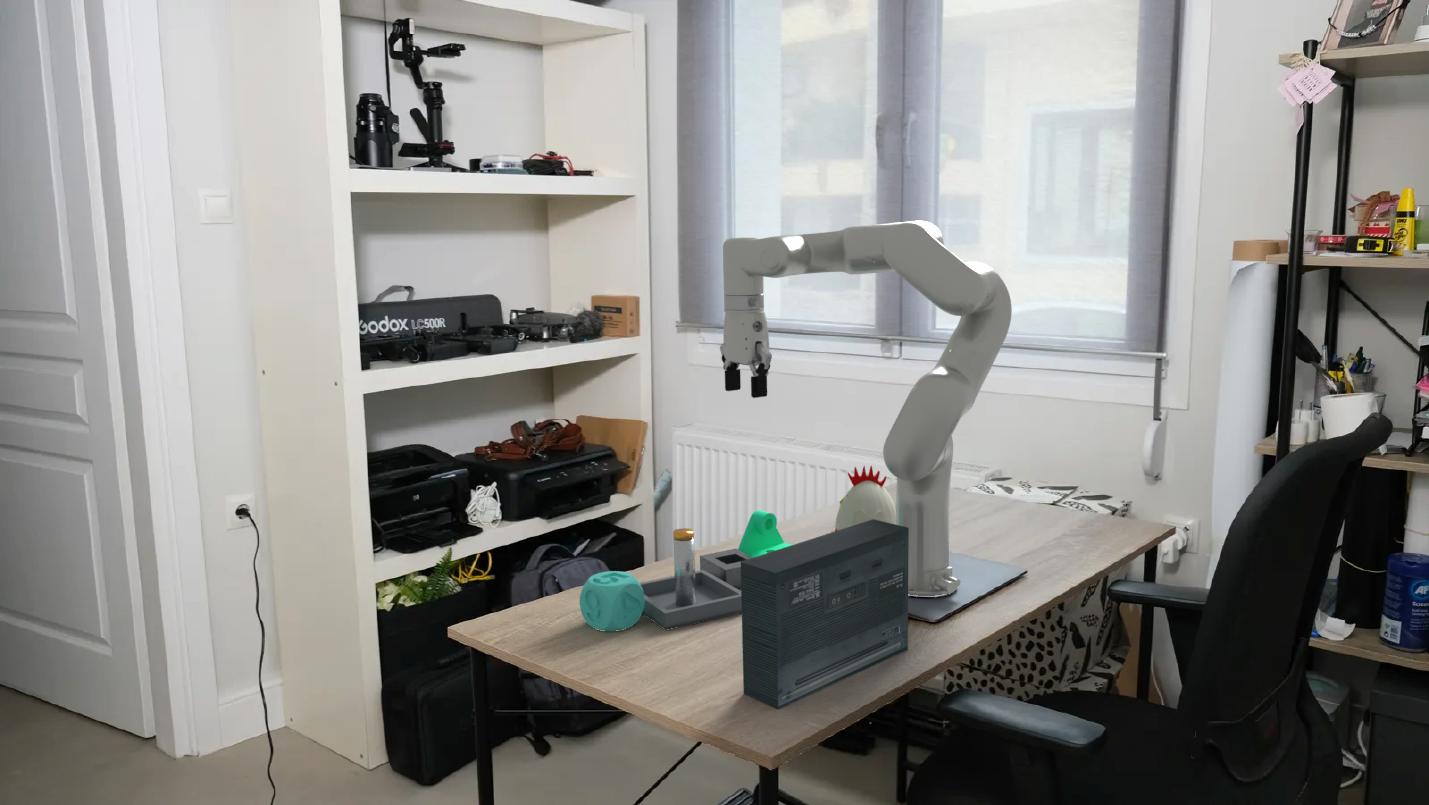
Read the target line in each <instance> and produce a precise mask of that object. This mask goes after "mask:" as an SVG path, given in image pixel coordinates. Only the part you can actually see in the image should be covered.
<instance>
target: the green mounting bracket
mask: <svg viewBox="0 0 1429 805" xmlns="http://www.w3.org/2000/svg"><path fill="white" fill-rule="evenodd" d="M777 523H778V521H777V517H776V515H775V514H774V513H771V512H768V511H765V510H760V509H757V510H755V511H753V513H752V514H751V516H750V518H749V520H748V522H747V525H746V528H745V530H744V533H743V536H742V537H741V541H740V543H739V546H738V548H737V549H738V550H740V551H742V552H744V553H746V554H748V555H750V556H752V557H757V556H760V555H763V554H766V553H769V552H773V551H776V550H779V549H782V548H785V547H788V546H791V545H792V544H791V543H787V542H785V541H784V539H783V537H782V536H781V534H780V532H779V530H778V528H777Z"/></svg>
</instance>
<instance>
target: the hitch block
mask: <svg viewBox="0 0 1429 805" xmlns="http://www.w3.org/2000/svg"><path fill="white" fill-rule="evenodd" d="M751 558H754V557H752V556H750V555H748V554H746V553H744V552H742V551H740V550H738V548H732V549H727V550H721V551H716V552H713V553H712V552H711V553H707V554H702V555H701V554H700V555H699V571H700V570H705V571H706V572H708V573H710V574H712V575H713V576H715V577H717V578H719V579H720V580H722V581H724V582H726V583H728V584H729V585H731V586H733V587H735V588H736V589H741V561H744V560H748V559H751Z"/></svg>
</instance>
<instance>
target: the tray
mask: <svg viewBox="0 0 1429 805" xmlns="http://www.w3.org/2000/svg"><path fill="white" fill-rule="evenodd" d="M639 583H640V585H641V587H642V589H643V592H644V598H645V603H644V609H643V612H642V613H644V614H645V615H646V616H648V617H649V618H650V619H652V620H654V621H655V622H656V623H657V624H658V626H659V625H660V626H661V627H660V626H659V627H660V628H662V627H663V628H664V629H665V630H664V629H663V628H662V629H663V630H664V631H668V630H667V629H670V630H672V629H671V628H674V629H676V628H675V627H679V628H682V626H683V627H686V626H690V624H691V625H695V623H696V624H699V623H698V622H700V623H704V622H707V621H708V620H709V621H712V620H711V619H713V620H717V619H720V618H726V617H730V616H733V615H738V614H742V600H741V589H739V588H737V589H736V588H735V587H733V586H731V585H729V584H728V583H726V582H724V581H722V580H720V579H719V578H717V577H715V576H713V575H712V574H710V573H708V572H706V571H705V570H700V569H699V570H697V571H696V570H695V588H696V604H694V605H690V606H685V607H680V606H677V605H676V599H675V575H672V576H668V577H666V576H665V577H661V578H657V579H653V580H648V581H643V582H639ZM645 615H644V616H645ZM646 616H645V617H646ZM648 617H647V618H648ZM649 618H648V619H649ZM650 619H649V620H650ZM652 620H651V621H652ZM703 621H704V622H703ZM709 621H708V622H709ZM655 622H654V623H655ZM656 623H655V624H656ZM657 624H656V625H657Z"/></svg>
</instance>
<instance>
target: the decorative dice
mask: <svg viewBox="0 0 1429 805" xmlns="http://www.w3.org/2000/svg"><path fill="white" fill-rule="evenodd" d="M640 583H641V582H640V581H639V580H638V579H637V578H636V577H635V576H634V575H633V574H632V573H629V572H626V571H622V570H621V571H619V570H617V571H616V570H614V571H613V570H610V571H609V570H607V571H602V572H598V573H596V574H595V573H594V574H593V575H591V576H590V577H589V578H588V579H587V580H586V582H585V583H584V584H583V586H582V588H581V591H580V594H579V609H580V612H581V614H582V617H583V619H584V620H585V622H586V623H587V624H588V625H589V626H590V627H591V628H592V627H594V628H596V629H599V630H605V631H614V632H617V631H616V630H621V631H623V630H622V629H625V628H628V627H630V628H632V627H634V626H633V625H634V624H635V625H636V623H638V622H639V620H640V618H641V616H642V615H643V614H642V612H643V609H644V603H645V598H644V592H643V589H642V587H641V585H640ZM594 628H593V629H594ZM596 629H595V630H596ZM628 629H629V628H628ZM599 630H598V631H599ZM625 630H626V629H625ZM605 631H604V632H605Z"/></svg>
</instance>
